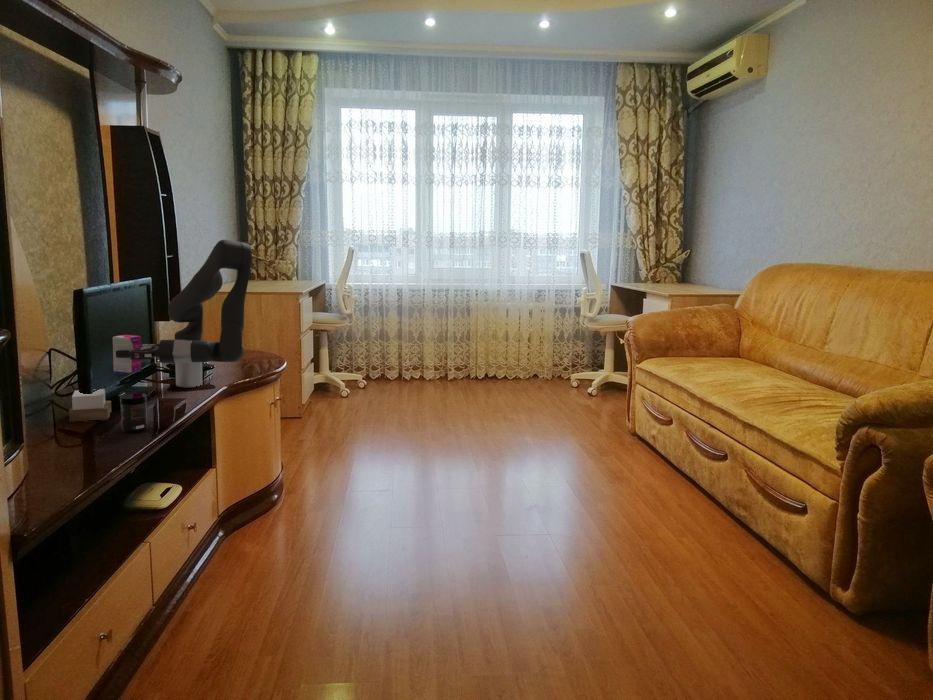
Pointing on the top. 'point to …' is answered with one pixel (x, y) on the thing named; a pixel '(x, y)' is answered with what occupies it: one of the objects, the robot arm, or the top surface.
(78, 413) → the cream base block
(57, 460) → the top surface
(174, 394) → the top surface
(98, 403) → the pale grey top block
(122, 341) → the supplement box
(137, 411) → the supplement container
